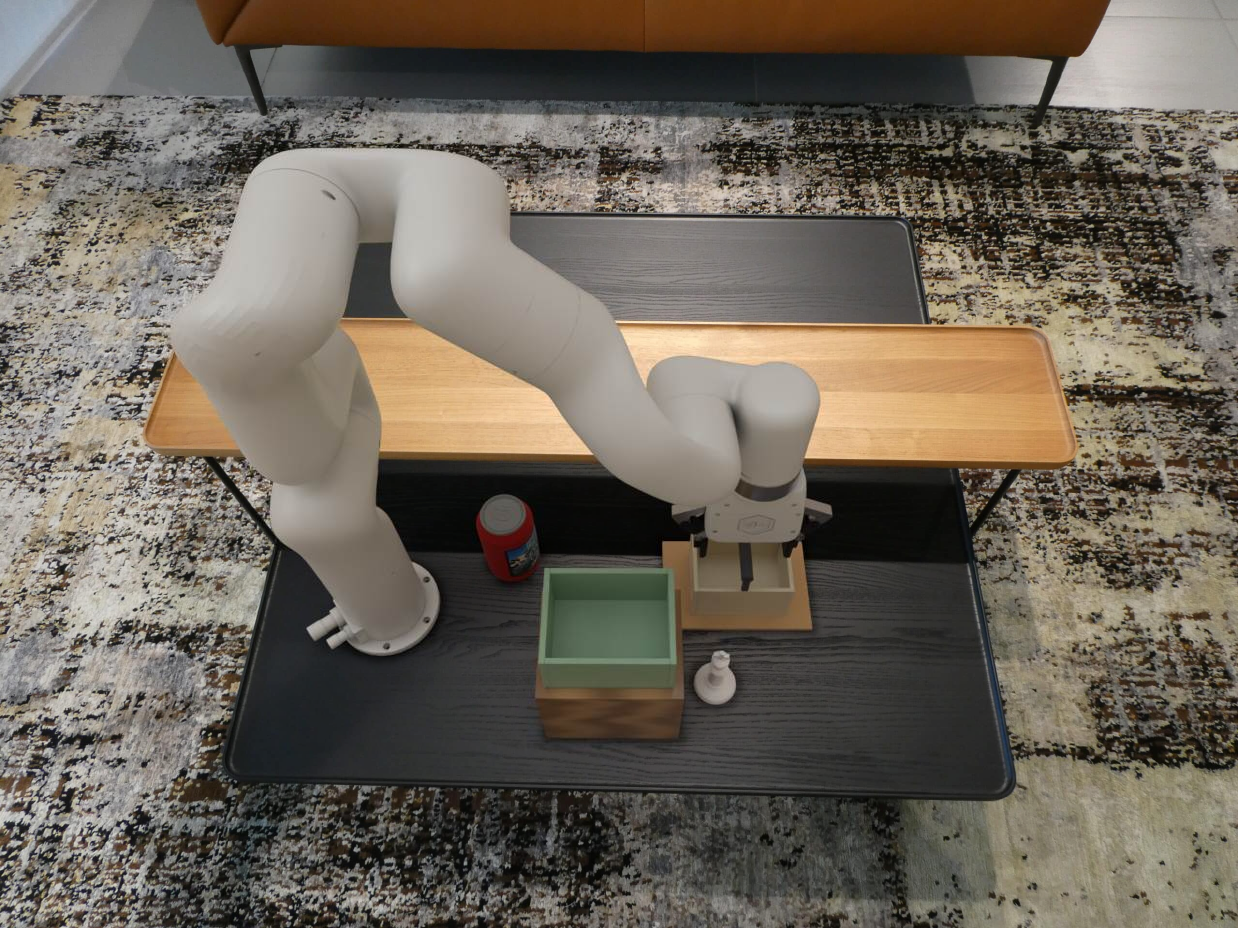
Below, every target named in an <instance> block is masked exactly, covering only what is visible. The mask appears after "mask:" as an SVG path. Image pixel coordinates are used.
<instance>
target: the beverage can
mask: <svg viewBox="0 0 1238 928" xmlns="http://www.w3.org/2000/svg"><path fill="white" fill-rule="evenodd" d="M475 526H476V530H477V534H478V538H479V541H480V543H481V547H482V550H483V554H484V556H485V560H486V562H487V565H488V568H489V570H490V572H491V573H492V574H493V575H494V576H495V577H497V578H498V579H499V580H502V581H506V582H519V581H522V580H525V579H526V578H528V577H530V576H531V575H532V574H533V573H535V571H536V570H537V568H538V566H539V564H540V560H541V553H540V547H539V541H538V536H537V530H536V526H535V520H534V516H533V513H532V511H531V508H530V507H529V505H528V504H527V503H526V502H524V501H523V500H522V499H519V498H518V497H516V496H514V495H511V494H497V495H494V496H492V497H491V498H489V499H488V500H487V501H485V502H484V503H483V505H482V507H481V509H480V510H479V512H478V514H477V516H476V522H475Z"/></svg>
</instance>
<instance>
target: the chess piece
mask: <svg viewBox="0 0 1238 928" xmlns="http://www.w3.org/2000/svg"><path fill="white" fill-rule="evenodd" d="M730 657H731V655H730V653H727V652H725V650H717V651H713V654H712V655H711V661H710V662H707V663H705V664H704V665H702V666H701V667H699V668H698V669H697V672H696V673H695V675H694V678H693V687H694V691H695V693H696V695H697V696H698V697H699V698H700V699H701V700H702V701H703V702H705V703H707V704H710V705H723V704H726V703H727V702H728V701H730V700H731V698H733V696H734V695H735V693H736V688H737V683H736V677H735V675H734V673H733V671H732V670H731V669H730V668H729V665H730V661H731V658H730Z"/></svg>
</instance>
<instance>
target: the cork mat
mask: <svg viewBox="0 0 1238 928" xmlns="http://www.w3.org/2000/svg"><path fill="white" fill-rule="evenodd" d="M689 546H690V540H689V541H677V540H676V541H671V540H670V541H668V540H666V541H664V540H663V541H662V543H661V548H662V549H661V550H662V568H674V589H680V590H681V613H682V631H794V632H795V631H801V632H803V631H807V632H808V631H809V632H811V631H812V630H813V621H812V614H811V605H810V599H809V591H808V590H809V589H808V581H807V574H806V566H805V559H804V550H803V543H802V541H799V542H798V545H797V548H793V550H792V553H791V563H792V572H793V580H794V589H795V592H794V595H793V598H792V600H791V603H790V606H789V608H788V611H787V614H786V616H691V602H690V576H689Z"/></svg>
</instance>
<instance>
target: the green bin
mask: <svg viewBox="0 0 1238 928" xmlns="http://www.w3.org/2000/svg"><path fill="white" fill-rule="evenodd" d="M543 569H544V571H543V583H542V584H543V587H542V589H543V599H542V614H541V630H540V645H539V660H538V664H539V668H540V672H541V675H542V679H543V683H544V687H545V688H595V689H674V682H675V674H676V666H677V657H676V623H675V589H674V568H663V567H655V568H654V567H544V568H543Z"/></svg>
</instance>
